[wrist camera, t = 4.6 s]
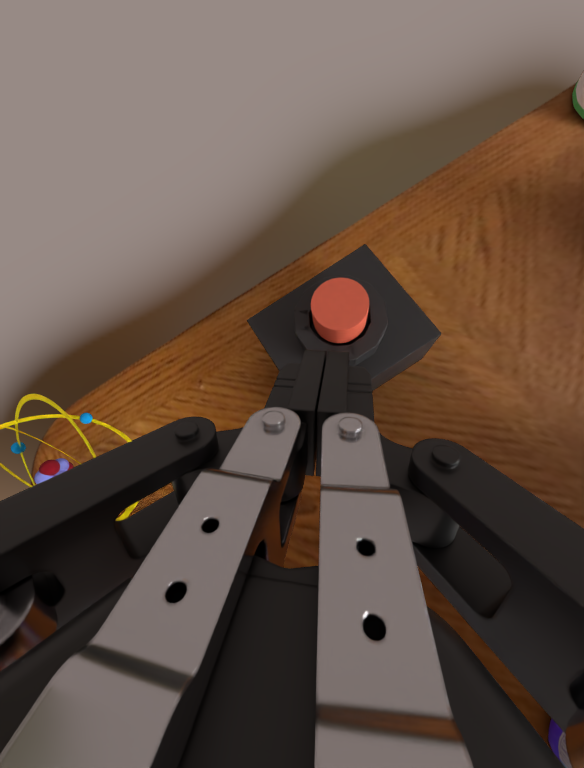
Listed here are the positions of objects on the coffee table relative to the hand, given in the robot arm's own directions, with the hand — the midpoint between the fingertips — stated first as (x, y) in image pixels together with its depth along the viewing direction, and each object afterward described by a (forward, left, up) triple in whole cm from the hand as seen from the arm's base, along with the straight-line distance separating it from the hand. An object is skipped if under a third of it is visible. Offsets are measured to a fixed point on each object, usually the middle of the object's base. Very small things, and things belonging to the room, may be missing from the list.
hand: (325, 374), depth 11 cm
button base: (-5, -6, -20) cm, 21 cm away
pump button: (-5, -6, -12) cm, 15 cm away
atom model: (+22, -9, -20) cm, 31 cm away
